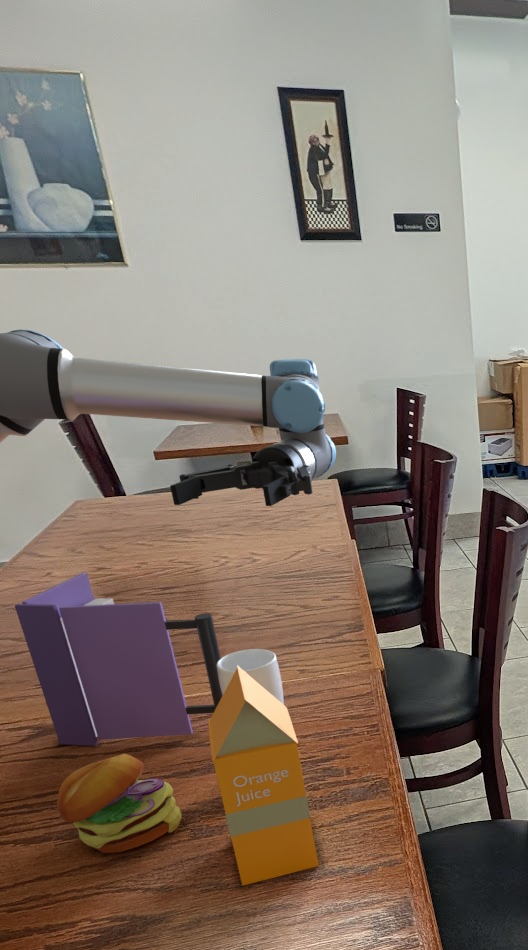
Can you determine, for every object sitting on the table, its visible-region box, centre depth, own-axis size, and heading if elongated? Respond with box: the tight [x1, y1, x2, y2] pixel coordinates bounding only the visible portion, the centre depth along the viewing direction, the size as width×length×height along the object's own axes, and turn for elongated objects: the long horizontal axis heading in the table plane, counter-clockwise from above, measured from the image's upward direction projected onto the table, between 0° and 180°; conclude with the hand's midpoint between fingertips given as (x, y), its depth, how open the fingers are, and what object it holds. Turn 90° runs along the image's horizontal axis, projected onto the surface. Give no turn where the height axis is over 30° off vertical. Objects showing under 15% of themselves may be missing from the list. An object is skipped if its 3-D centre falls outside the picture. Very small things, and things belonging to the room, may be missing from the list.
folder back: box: [14, 571, 115, 747], centre depth 110 cm, size 5×13×20 cm, turn 174°
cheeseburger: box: [56, 753, 183, 854], centre depth 89 cm, size 10×11×10 cm
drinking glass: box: [217, 648, 285, 706], centre depth 99 cm, size 7×7×15 cm
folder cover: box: [59, 601, 222, 741], centre depth 105 cm, size 2×18×18 cm, turn 95°
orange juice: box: [207, 665, 320, 887], centre depth 82 cm, size 8×9×20 cm
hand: (220, 495), depth 115 cm, fingers open, 13 cm apart
